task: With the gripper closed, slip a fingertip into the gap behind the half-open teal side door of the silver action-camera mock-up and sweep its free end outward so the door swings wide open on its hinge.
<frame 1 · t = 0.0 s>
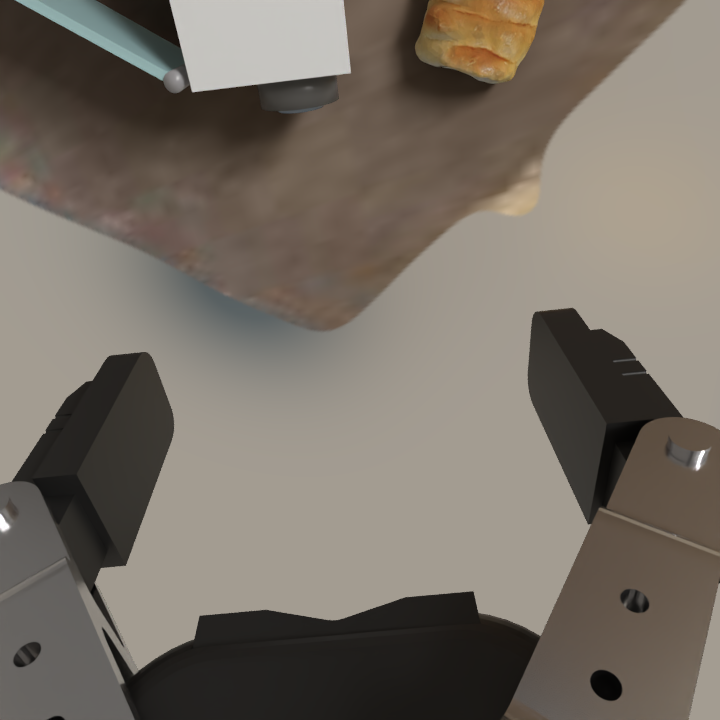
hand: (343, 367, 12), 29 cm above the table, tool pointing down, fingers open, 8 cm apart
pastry: (476, 1, 34), on the table
door: (59, 3, 29), point 4 cm above the table, hinge at 55.0°
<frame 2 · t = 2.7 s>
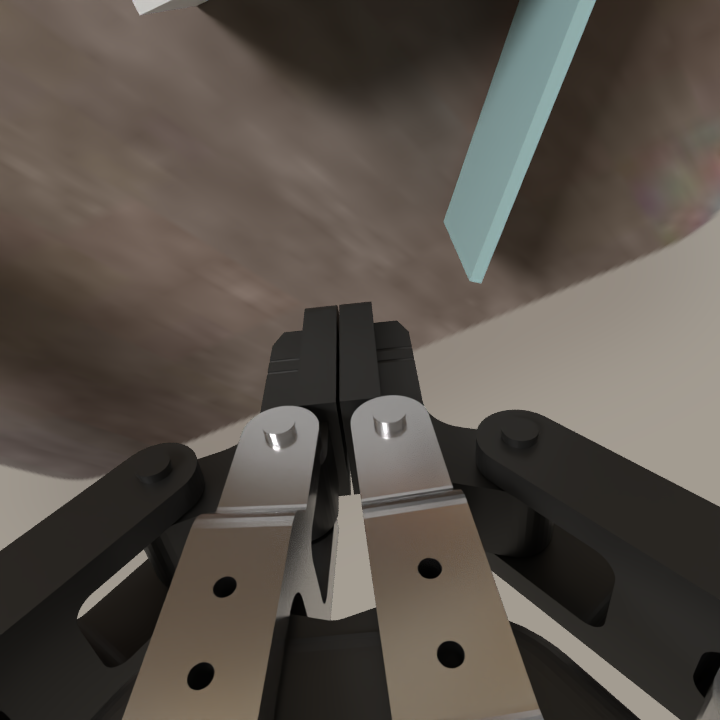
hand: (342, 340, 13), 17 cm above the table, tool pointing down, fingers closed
door: (530, 73, 22), point 4 cm above the table, hinge at 55.0°
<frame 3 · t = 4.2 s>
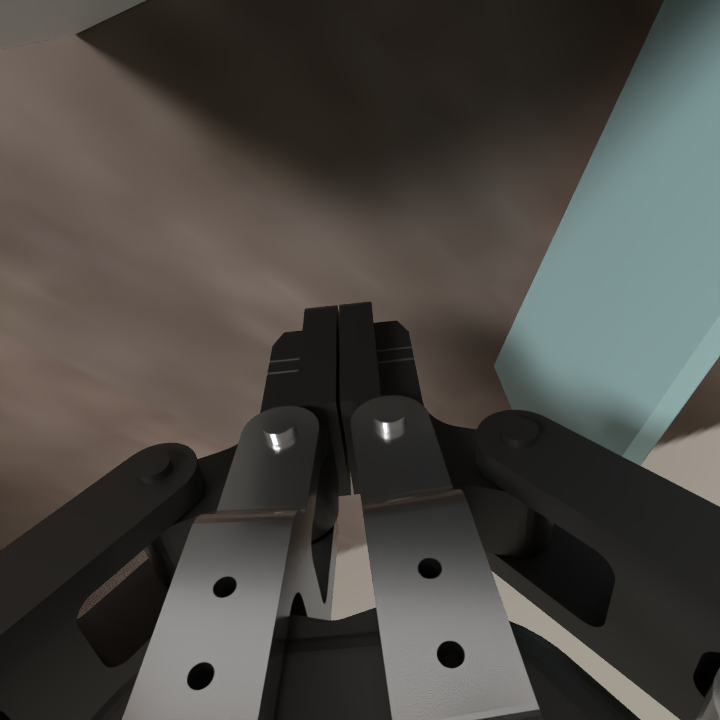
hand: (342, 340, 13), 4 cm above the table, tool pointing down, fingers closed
door: (690, 171, 11), point 4 cm above the table, hinge at 55.0°
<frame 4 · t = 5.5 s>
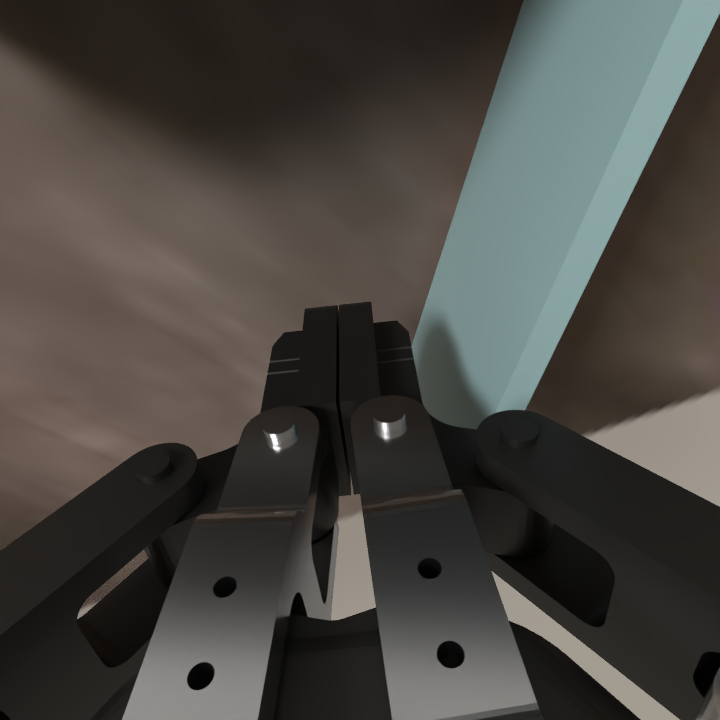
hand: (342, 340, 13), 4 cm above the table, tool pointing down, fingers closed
door: (558, 121, 10), point 4 cm above the table, hinge at 56.6°, touching gripper
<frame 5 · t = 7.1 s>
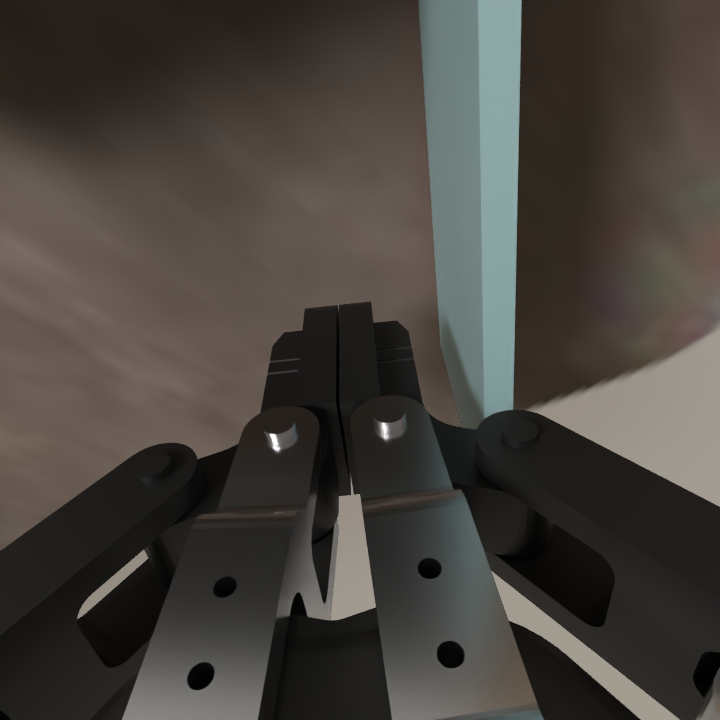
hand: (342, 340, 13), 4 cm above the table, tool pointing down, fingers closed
door: (466, 94, 10), point 4 cm above the table, hinge at 77.0°, touching gripper
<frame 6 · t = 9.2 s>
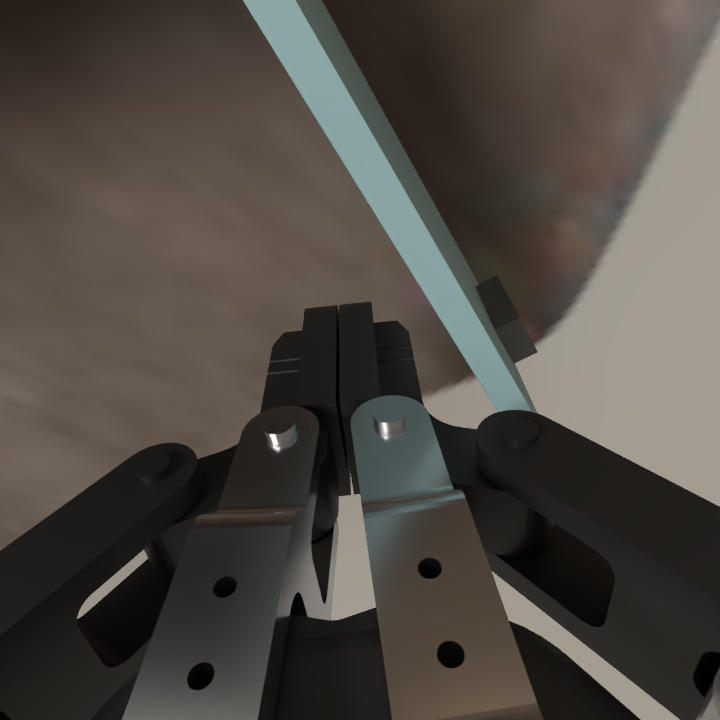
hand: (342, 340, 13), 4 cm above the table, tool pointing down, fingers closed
door: (326, 38, 9), point 4 cm above the table, hinge at 100.8°, touching gripper
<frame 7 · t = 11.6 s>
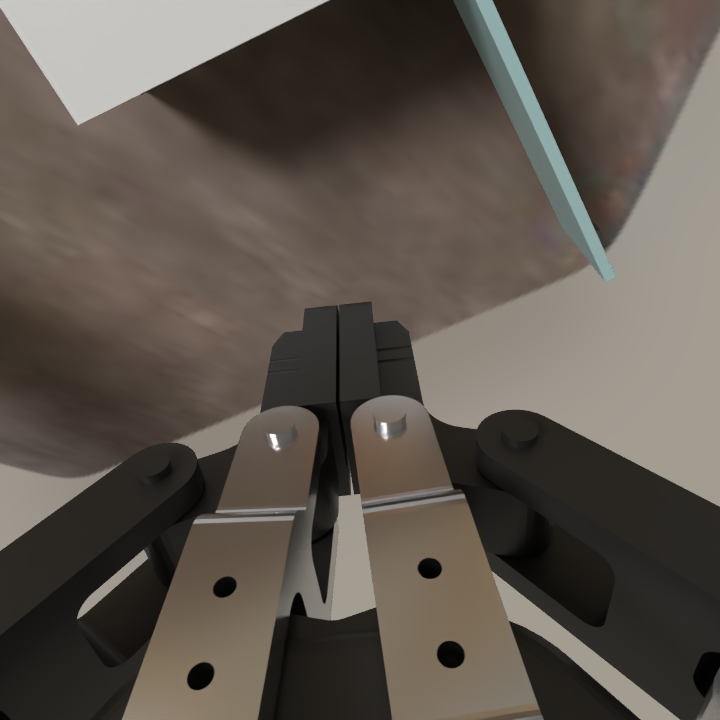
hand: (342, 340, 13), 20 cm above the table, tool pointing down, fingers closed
door: (530, 120, 25), point 4 cm above the table, hinge at 101.1°
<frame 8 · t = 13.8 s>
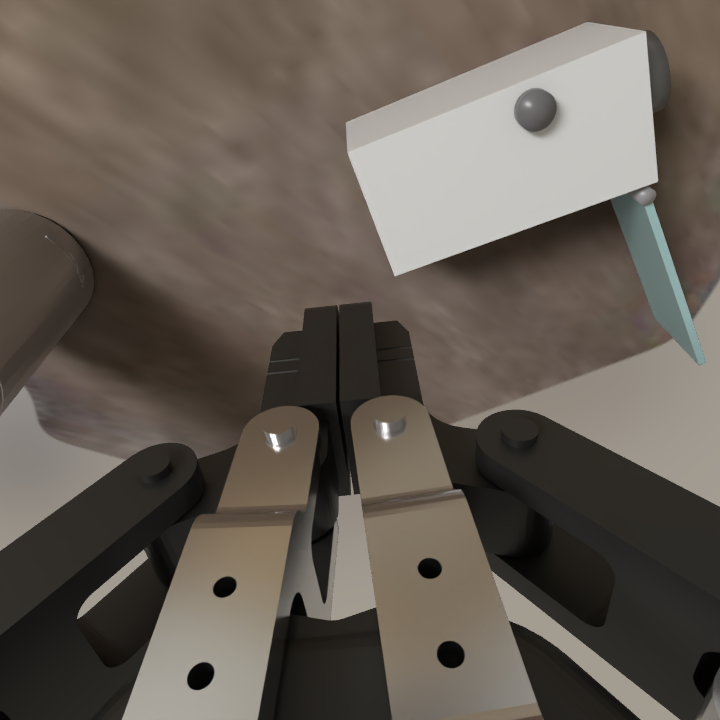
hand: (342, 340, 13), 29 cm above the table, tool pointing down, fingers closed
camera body: (477, 135, 38), on the table
door: (654, 263, 39), point 4 cm above the table, hinge at 101.1°
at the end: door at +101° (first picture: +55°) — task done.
